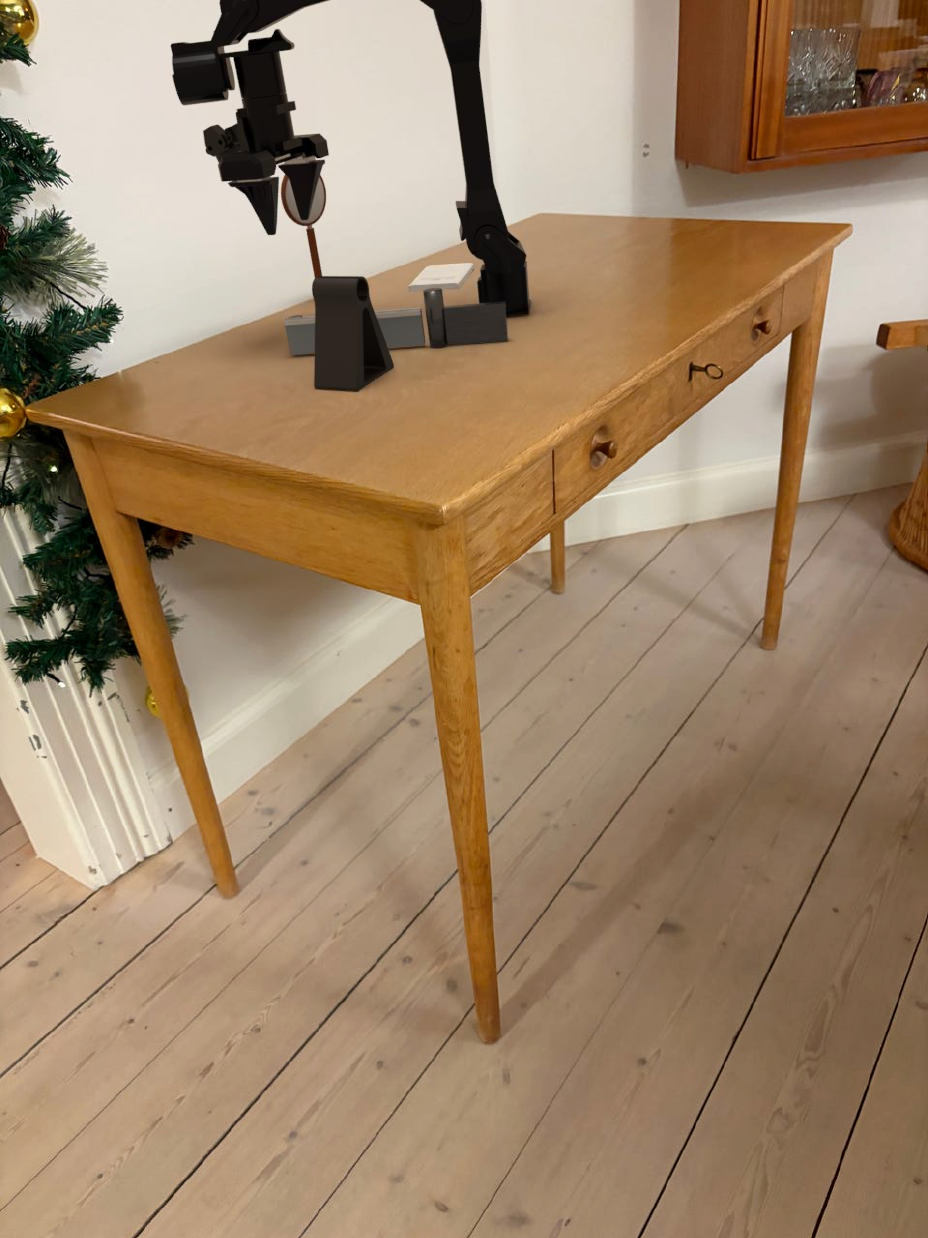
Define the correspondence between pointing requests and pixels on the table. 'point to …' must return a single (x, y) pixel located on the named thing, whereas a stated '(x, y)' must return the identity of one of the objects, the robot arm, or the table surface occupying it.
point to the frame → (462, 321)
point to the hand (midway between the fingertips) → (288, 226)
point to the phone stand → (347, 335)
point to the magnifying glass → (314, 216)
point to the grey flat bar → (394, 324)
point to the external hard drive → (442, 277)
